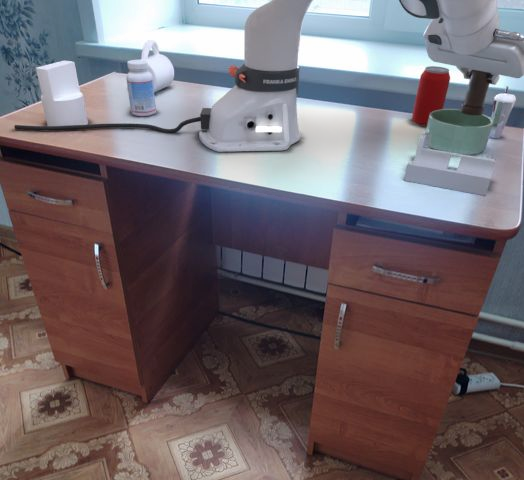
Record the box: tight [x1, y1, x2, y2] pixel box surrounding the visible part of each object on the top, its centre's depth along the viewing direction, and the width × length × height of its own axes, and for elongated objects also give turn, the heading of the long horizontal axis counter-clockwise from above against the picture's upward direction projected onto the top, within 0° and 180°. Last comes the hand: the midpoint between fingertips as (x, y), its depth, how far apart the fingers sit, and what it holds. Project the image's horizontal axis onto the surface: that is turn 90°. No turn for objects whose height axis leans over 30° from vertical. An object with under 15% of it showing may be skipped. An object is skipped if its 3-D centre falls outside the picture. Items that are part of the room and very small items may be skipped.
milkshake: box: [489, 85, 517, 139], centre depth 115 cm, size 5×5×10 cm
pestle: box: [459, 70, 490, 115], centre depth 103 cm, size 5×5×12 cm
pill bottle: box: [125, 59, 157, 117], centre depth 120 cm, size 6×6×11 cm
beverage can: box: [411, 65, 451, 127], centre depth 120 cm, size 7×7×12 cm
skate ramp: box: [403, 132, 497, 197], centre depth 97 cm, size 15×13×5 cm
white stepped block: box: [35, 60, 89, 126], centre depth 112 cm, size 9×9×12 cm
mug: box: [128, 39, 175, 94], centre depth 136 cm, size 8×10×12 cm
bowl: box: [424, 108, 493, 156], centre depth 110 cm, size 13×13×6 cm
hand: (481, 78), depth 104 cm, fingers closed on pestle, 4 cm apart
